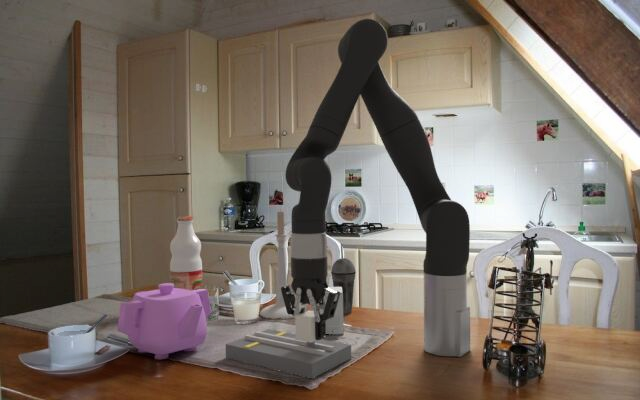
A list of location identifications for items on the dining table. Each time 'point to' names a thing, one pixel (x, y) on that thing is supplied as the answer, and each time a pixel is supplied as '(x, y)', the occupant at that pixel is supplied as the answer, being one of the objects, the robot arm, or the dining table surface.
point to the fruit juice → (185, 256)
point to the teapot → (165, 320)
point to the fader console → (288, 353)
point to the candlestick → (279, 275)
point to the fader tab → (305, 328)
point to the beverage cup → (344, 280)
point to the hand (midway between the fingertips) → (310, 336)
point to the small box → (336, 315)
